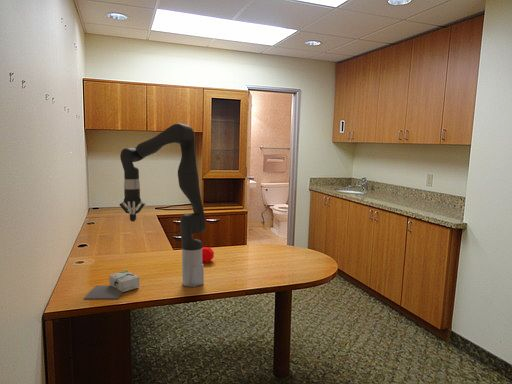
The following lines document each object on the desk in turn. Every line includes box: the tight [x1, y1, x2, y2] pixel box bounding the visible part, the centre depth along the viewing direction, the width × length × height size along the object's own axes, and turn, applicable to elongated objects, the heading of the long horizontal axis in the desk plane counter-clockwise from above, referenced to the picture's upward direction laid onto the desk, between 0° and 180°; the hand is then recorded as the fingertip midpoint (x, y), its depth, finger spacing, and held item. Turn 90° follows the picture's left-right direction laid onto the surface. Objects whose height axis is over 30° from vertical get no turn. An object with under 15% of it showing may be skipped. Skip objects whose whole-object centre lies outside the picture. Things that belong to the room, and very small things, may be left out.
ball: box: [202, 246, 215, 264], centre depth 204 cm, size 8×8×8 cm
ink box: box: [109, 270, 140, 293], centre depth 167 cm, size 9×5×12 cm
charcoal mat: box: [83, 285, 124, 300], centre depth 161 cm, size 14×14×1 cm
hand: (133, 221), depth 189 cm, fingers closed
